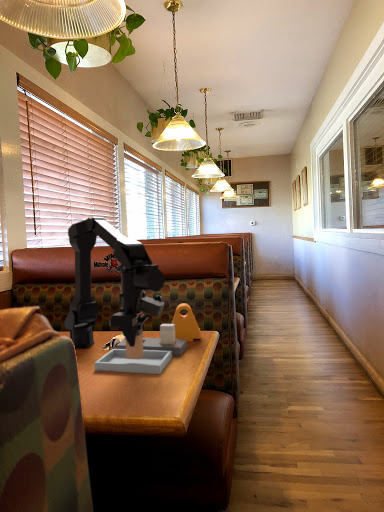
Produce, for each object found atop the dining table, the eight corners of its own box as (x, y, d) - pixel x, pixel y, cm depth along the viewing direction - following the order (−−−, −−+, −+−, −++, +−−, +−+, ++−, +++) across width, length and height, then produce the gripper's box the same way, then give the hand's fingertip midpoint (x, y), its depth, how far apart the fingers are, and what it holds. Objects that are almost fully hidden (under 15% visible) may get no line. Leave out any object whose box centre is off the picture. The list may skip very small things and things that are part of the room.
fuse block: (116, 353, 113) (116, 345, 112) (127, 344, 121) (127, 337, 121) (180, 355, 109) (180, 347, 108) (187, 346, 117) (187, 338, 117)
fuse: (160, 351, 113) (159, 325, 112) (163, 349, 116) (162, 323, 115) (173, 352, 112) (172, 326, 112) (175, 349, 115) (174, 324, 114)
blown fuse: (126, 358, 101) (125, 329, 101) (129, 355, 104) (128, 327, 104) (140, 359, 101) (139, 330, 100) (143, 356, 103) (142, 327, 103)
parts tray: (94, 370, 98) (94, 362, 98) (113, 356, 110) (112, 348, 110) (160, 374, 95) (159, 365, 95) (171, 358, 106) (171, 351, 106)
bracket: (199, 335, 131) (198, 301, 130) (200, 340, 124) (199, 305, 123) (169, 336, 131) (168, 302, 130) (168, 342, 123) (167, 306, 123)
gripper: (149, 294, 90) (151, 357, 91) (169, 283, 109) (171, 336, 110) (107, 293, 93) (109, 355, 94) (133, 283, 111) (135, 335, 112)
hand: (134, 344), depth 102 cm, fingers closed on blown fuse, 3 cm apart
